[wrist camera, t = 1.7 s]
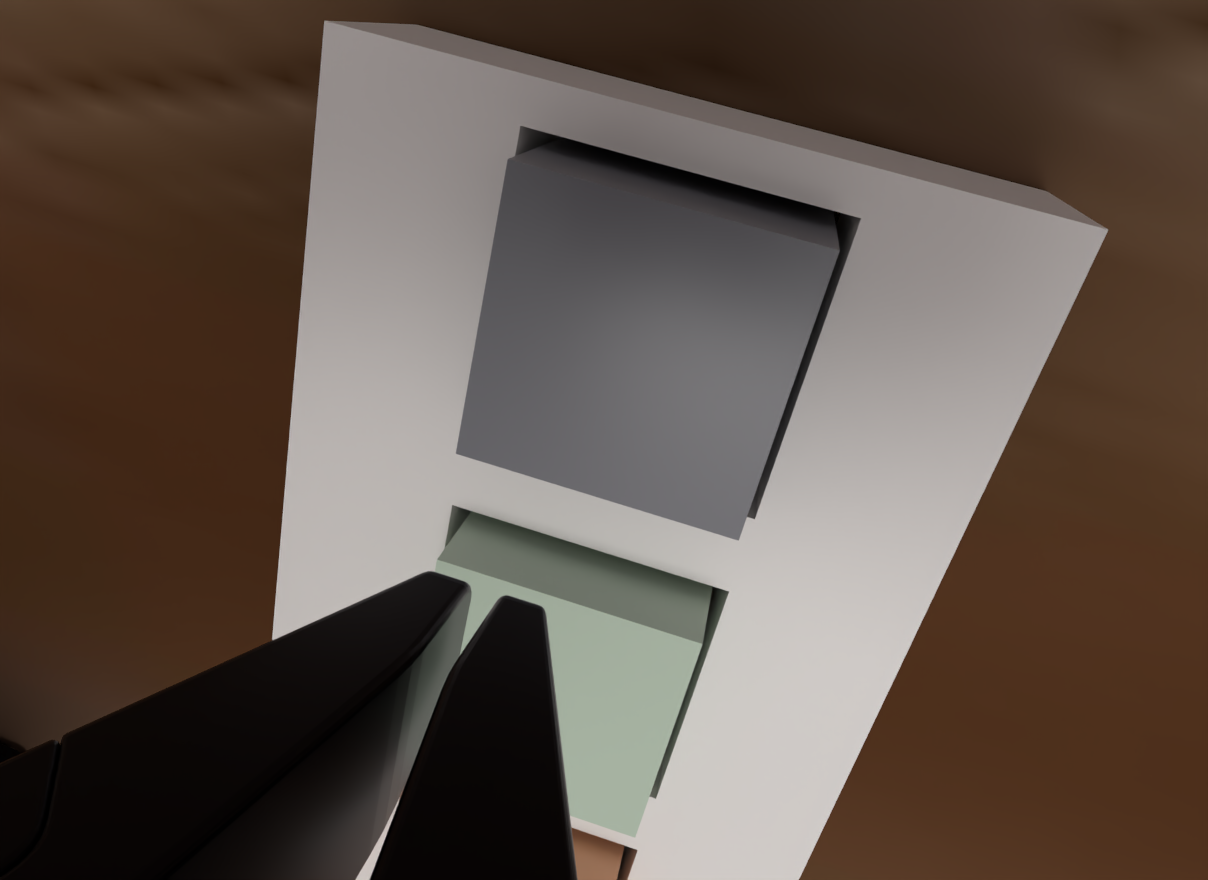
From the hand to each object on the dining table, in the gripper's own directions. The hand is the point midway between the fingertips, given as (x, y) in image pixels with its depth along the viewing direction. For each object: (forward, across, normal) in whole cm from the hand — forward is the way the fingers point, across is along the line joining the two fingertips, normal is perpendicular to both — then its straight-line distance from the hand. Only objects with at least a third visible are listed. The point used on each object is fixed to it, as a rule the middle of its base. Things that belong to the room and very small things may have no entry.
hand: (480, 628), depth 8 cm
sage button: (+11, 0, +7) cm, 13 cm away
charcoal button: (+11, 0, 0) cm, 11 cm away
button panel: (+13, 0, +8) cm, 15 cm away
